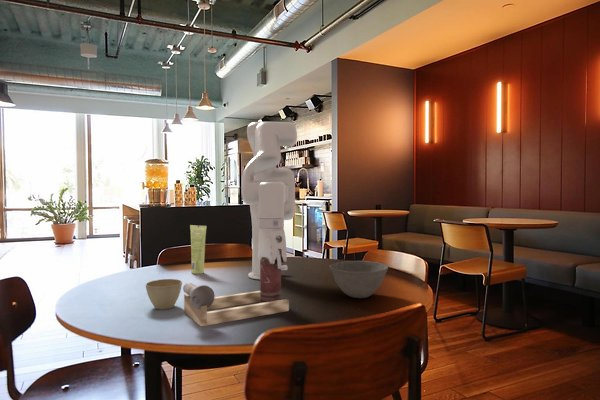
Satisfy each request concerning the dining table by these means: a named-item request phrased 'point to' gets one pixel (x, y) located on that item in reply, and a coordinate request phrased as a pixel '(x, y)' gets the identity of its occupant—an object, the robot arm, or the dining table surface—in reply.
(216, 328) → the dining table surface
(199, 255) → the tube
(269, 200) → the robot arm
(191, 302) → the bay
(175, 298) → the flower pot
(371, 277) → the bowl
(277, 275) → the can
